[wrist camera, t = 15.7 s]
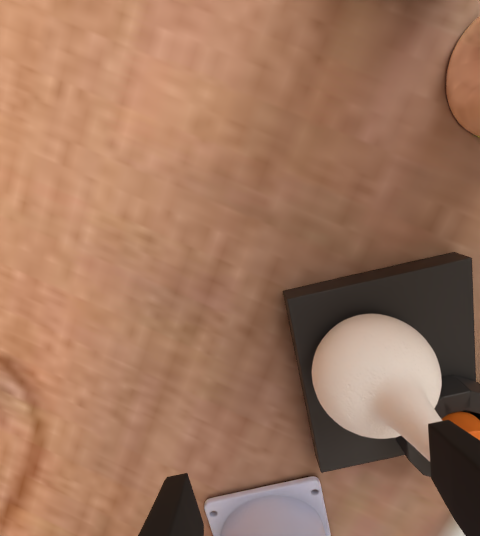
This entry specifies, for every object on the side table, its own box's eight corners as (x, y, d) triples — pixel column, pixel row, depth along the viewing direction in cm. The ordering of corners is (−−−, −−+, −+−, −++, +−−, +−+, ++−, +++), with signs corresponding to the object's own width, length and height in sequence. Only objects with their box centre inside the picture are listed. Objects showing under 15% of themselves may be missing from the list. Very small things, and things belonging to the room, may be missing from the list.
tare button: (481, 448, 20) (502, 471, 18) (430, 459, 20) (447, 482, 18) (480, 405, 19) (501, 425, 17) (427, 417, 19) (444, 438, 17)
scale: (474, 430, 22) (511, 467, 20) (317, 464, 23) (330, 506, 20) (467, 248, 19) (511, 262, 16) (282, 290, 19) (292, 311, 16)
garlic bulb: (315, 415, 20) (372, 566, 12) (297, 320, 18) (350, 427, 10) (419, 392, 20) (544, 530, 12) (411, 295, 18) (549, 383, 10)
